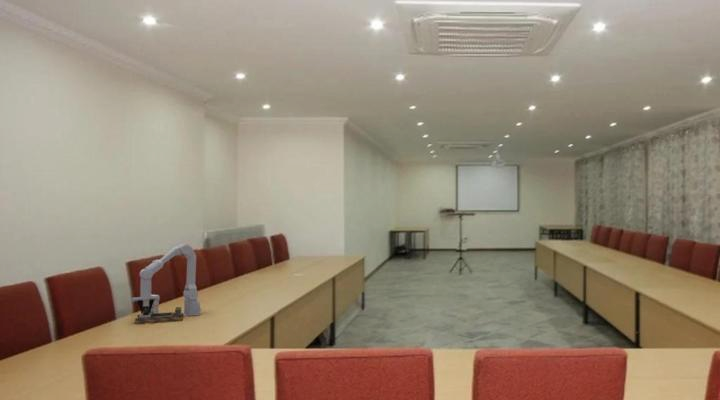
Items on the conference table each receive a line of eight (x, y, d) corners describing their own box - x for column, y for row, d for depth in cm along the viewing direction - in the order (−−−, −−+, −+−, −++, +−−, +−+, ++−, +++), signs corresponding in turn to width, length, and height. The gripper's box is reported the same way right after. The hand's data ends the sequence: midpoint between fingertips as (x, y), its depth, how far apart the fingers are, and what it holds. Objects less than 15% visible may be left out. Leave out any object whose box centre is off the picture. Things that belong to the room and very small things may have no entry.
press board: (183, 315, 275) (183, 305, 275) (182, 320, 263) (182, 310, 263) (138, 319, 267) (138, 309, 267) (134, 324, 255) (134, 313, 255)
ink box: (150, 316, 274) (150, 297, 274) (142, 316, 275) (142, 296, 275) (159, 313, 282) (159, 294, 282) (152, 313, 283) (152, 294, 283)
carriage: (153, 316, 267) (153, 304, 267) (152, 319, 261) (152, 307, 261) (141, 317, 265) (141, 305, 265) (139, 320, 259) (139, 308, 259)
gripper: (131, 291, 257) (130, 315, 257) (158, 290, 262) (158, 313, 261) (133, 289, 264) (132, 312, 263) (160, 287, 268) (160, 310, 268)
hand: (145, 313), depth 263 cm, fingers open, 3 cm apart
